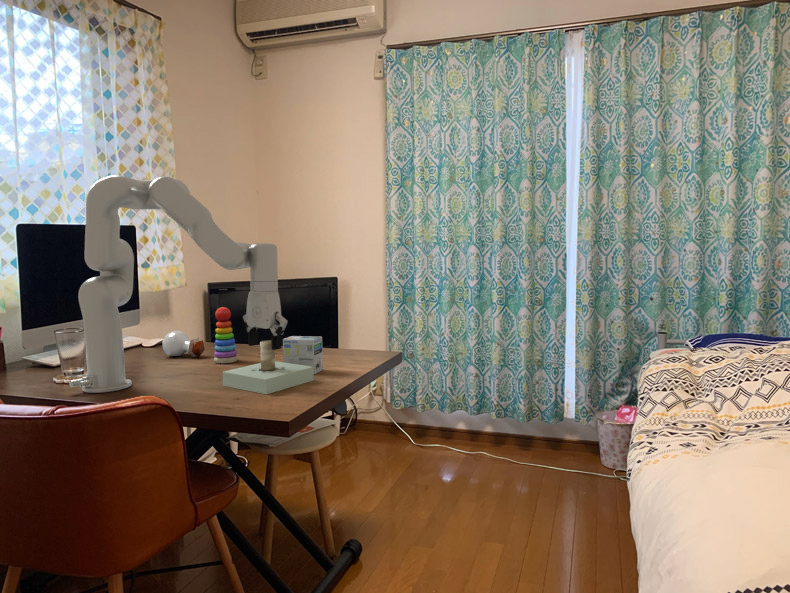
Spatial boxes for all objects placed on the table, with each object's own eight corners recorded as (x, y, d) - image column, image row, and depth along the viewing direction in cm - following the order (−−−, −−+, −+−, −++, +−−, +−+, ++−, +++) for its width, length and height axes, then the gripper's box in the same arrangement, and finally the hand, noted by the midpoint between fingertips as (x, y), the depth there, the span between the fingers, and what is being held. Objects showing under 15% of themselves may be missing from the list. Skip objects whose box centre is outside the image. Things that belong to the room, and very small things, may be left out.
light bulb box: (324, 369, 181) (322, 335, 180) (315, 374, 175) (314, 339, 174) (292, 368, 184) (291, 335, 183) (283, 373, 178) (281, 338, 177)
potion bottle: (167, 358, 212) (200, 365, 207) (151, 347, 204) (186, 354, 199) (178, 336, 216) (211, 342, 211) (163, 324, 208) (197, 330, 203)
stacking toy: (241, 359, 201) (239, 305, 199) (233, 364, 193) (230, 308, 191) (219, 359, 201) (217, 306, 200) (210, 364, 193) (207, 308, 192)
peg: (268, 385, 163) (266, 343, 161) (258, 383, 165) (256, 342, 164) (279, 382, 166) (277, 341, 165) (269, 380, 168) (267, 340, 167)
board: (266, 394, 153) (265, 379, 152) (223, 385, 163) (222, 371, 163) (313, 380, 167) (313, 366, 167) (271, 373, 178) (270, 360, 178)
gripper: (233, 286, 165) (234, 345, 166) (275, 289, 155) (275, 352, 156) (254, 285, 171) (254, 342, 172) (295, 288, 161) (295, 348, 162)
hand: (264, 347), depth 164 cm, fingers open, 9 cm apart
